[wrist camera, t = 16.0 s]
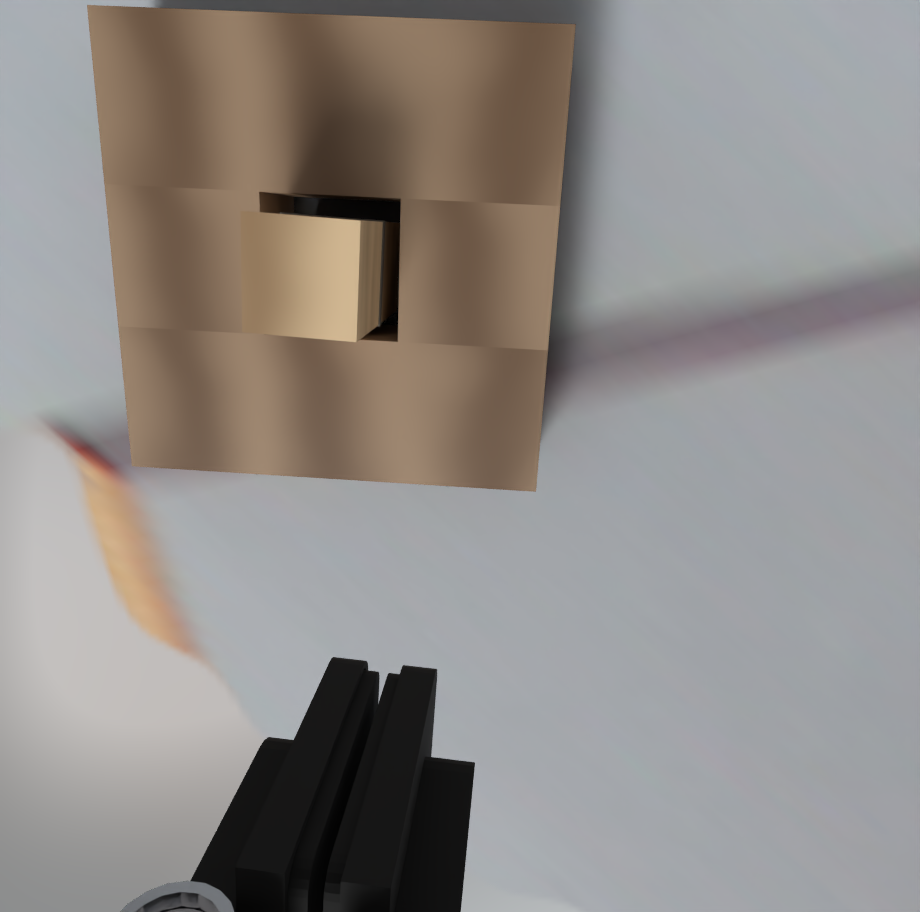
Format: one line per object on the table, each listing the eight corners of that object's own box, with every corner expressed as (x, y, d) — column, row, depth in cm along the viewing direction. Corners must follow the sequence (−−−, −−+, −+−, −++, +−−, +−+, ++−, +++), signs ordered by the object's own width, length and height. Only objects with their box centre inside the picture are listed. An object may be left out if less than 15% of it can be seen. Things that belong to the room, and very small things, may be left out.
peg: (402, 222, 33) (362, 219, 24) (397, 311, 34) (357, 343, 25) (314, 214, 33) (238, 208, 24) (312, 304, 34) (240, 333, 25)
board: (563, 56, 31) (575, 24, 26) (531, 456, 36) (535, 491, 31) (149, 39, 31) (86, 5, 26) (179, 435, 37) (131, 466, 32)
